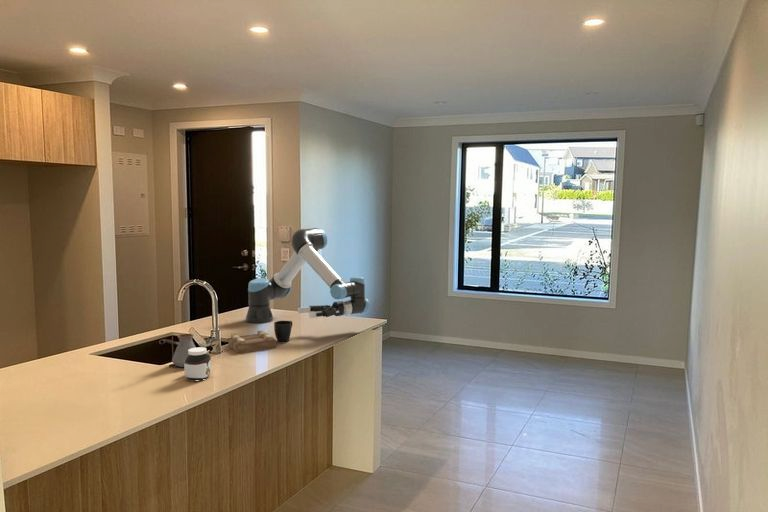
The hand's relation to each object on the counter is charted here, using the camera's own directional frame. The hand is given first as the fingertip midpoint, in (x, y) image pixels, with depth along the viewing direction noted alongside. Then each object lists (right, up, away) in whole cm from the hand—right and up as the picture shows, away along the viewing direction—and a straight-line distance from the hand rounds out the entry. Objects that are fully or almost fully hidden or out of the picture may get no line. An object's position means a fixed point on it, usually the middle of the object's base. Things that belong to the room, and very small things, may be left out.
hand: (303, 313), depth 289 cm
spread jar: (-34, -20, -60) cm, 72 cm away
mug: (-9, -13, -3) cm, 16 cm away
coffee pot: (-45, -18, -49) cm, 69 cm away
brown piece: (-22, -14, -15) cm, 31 cm away
